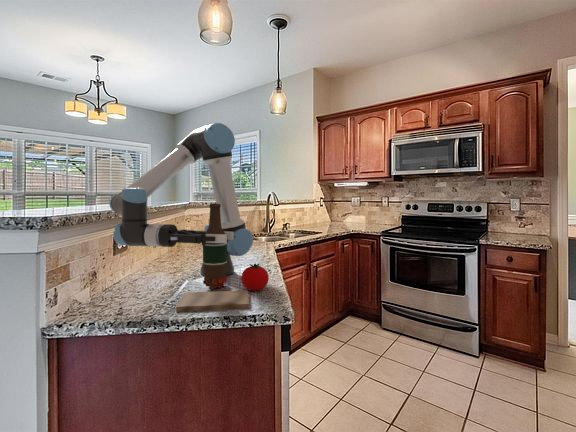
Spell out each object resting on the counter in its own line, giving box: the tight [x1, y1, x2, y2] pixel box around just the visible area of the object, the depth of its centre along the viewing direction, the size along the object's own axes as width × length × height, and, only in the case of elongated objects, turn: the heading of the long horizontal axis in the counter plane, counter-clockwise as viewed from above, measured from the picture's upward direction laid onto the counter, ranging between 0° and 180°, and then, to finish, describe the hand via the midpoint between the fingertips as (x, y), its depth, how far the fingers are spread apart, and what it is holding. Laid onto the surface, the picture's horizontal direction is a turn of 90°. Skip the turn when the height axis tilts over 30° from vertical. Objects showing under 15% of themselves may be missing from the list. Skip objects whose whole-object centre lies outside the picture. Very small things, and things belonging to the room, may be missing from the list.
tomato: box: [240, 262, 270, 292], centre depth 115 cm, size 10×10×10 cm
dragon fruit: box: [202, 275, 228, 291], centre depth 117 cm, size 8×8×12 cm
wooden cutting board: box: [175, 289, 250, 313], centre depth 101 cm, size 22×14×2 cm, turn 99°
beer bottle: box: [202, 202, 227, 279], centre depth 100 cm, size 8×8×24 cm
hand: (229, 237), depth 99 cm, fingers closed on beer bottle, 7 cm apart
